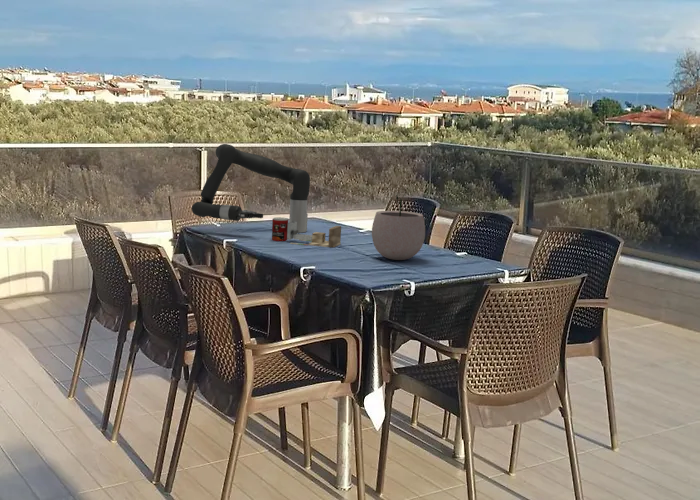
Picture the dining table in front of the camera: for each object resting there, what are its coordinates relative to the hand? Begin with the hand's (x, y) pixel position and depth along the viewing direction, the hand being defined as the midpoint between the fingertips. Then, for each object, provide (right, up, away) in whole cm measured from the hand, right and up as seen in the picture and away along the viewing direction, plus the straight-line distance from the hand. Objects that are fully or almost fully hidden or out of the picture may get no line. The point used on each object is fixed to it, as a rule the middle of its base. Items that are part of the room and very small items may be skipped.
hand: (262, 216), depth 405 cm
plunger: (+20, -12, -4) cm, 23 cm away
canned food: (+9, -12, -1) cm, 15 cm away
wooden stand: (+27, -14, -6) cm, 31 cm away
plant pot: (+65, -21, -37) cm, 77 cm away
